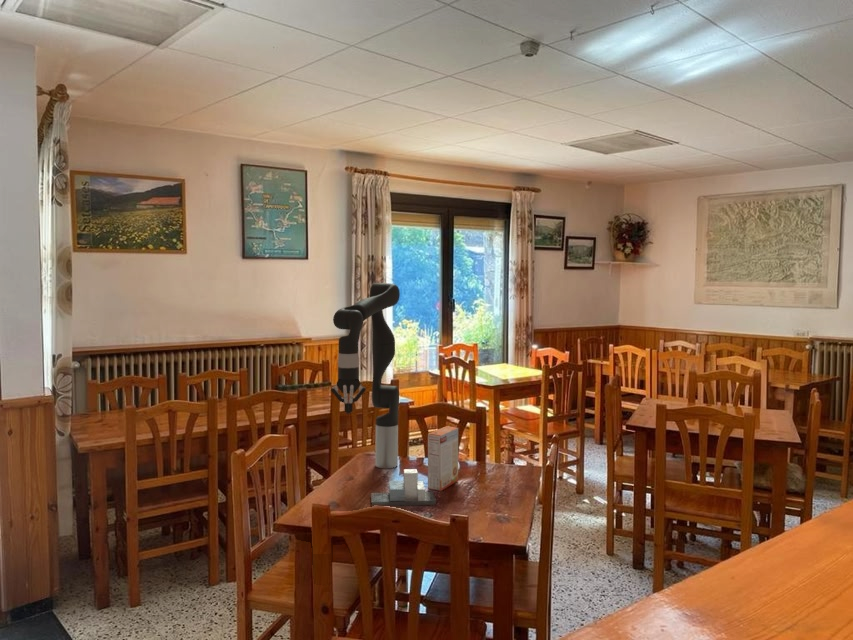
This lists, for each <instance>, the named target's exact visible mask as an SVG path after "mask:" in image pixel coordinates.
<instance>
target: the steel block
mask: <svg viewBox="0 0 853 640" xmlns="http://www.w3.org/2000/svg"><path fill="white" fill-rule="evenodd" d="M418 476H419V475H418V470H417V468H407V469H406V468H405V469H403V482H404V487H405V499H417V489H418V481H419V480H418V478H419V477H418Z"/></svg>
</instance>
